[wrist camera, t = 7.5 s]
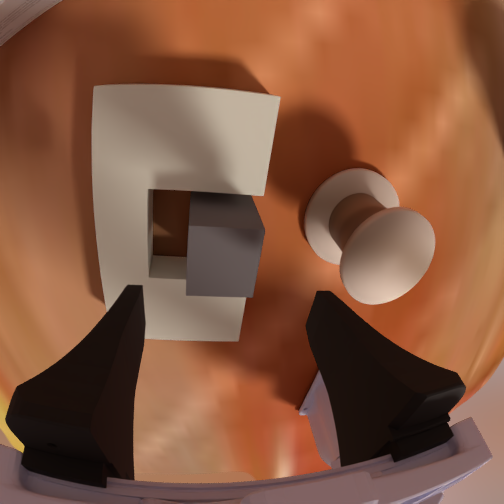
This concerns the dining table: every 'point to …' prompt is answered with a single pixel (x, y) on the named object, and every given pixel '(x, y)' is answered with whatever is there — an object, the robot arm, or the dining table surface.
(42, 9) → the small box
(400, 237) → the bobbin post
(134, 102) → the notch board
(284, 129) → the dining table surface
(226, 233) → the block
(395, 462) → the robot arm
